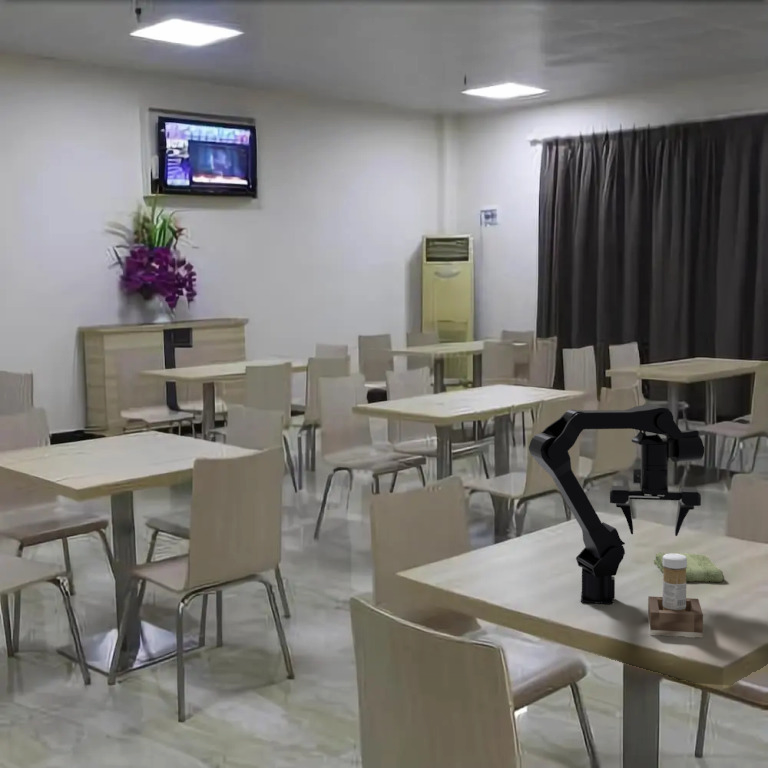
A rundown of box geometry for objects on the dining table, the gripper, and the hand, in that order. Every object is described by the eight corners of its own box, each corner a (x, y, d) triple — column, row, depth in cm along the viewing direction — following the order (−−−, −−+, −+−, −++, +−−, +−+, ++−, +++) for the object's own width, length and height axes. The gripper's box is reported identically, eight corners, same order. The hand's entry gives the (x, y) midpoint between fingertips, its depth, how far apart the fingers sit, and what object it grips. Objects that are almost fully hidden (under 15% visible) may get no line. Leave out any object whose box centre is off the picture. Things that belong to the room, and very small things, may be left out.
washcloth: (706, 562, 238) (706, 549, 237) (726, 585, 220) (727, 571, 220) (651, 562, 238) (651, 549, 238) (667, 584, 221) (667, 571, 221)
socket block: (650, 634, 189) (650, 612, 189) (648, 617, 199) (648, 596, 198) (702, 637, 187) (703, 615, 187) (697, 620, 196) (698, 598, 196)
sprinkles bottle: (678, 617, 195) (679, 551, 194) (690, 625, 191) (691, 558, 190) (657, 620, 194) (658, 553, 193) (669, 627, 190) (670, 560, 188)
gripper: (696, 457, 217) (695, 526, 218) (609, 455, 221) (609, 524, 222) (701, 467, 206) (700, 540, 207) (610, 465, 210) (609, 536, 211)
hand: (653, 534), depth 212 cm, fingers open, 9 cm apart
